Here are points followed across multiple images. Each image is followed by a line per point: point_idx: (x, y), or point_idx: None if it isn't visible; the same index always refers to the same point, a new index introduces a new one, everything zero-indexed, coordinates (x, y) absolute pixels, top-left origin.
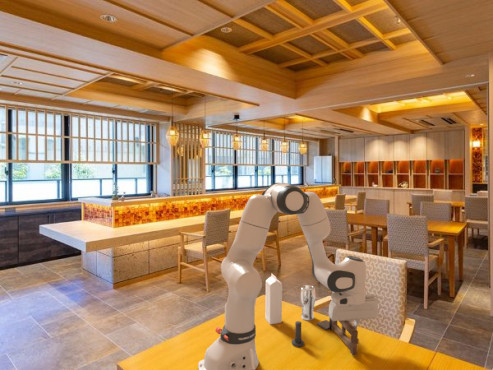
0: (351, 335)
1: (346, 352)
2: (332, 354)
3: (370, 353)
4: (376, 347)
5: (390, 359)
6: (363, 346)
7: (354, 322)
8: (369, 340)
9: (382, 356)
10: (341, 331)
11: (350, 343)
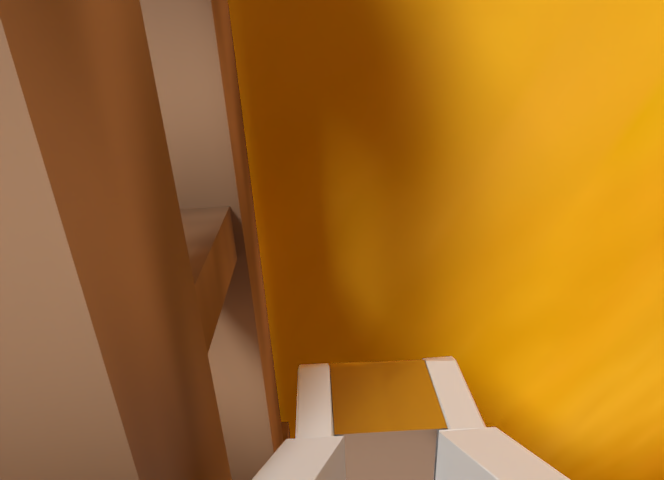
0: None
1: None
2: None
3: (474, 386)
4: (620, 290)
5: (603, 470)
6: (475, 262)
7: (471, 464)
8: (651, 129)
9: (563, 431)
10: (191, 130)
11: (232, 473)
